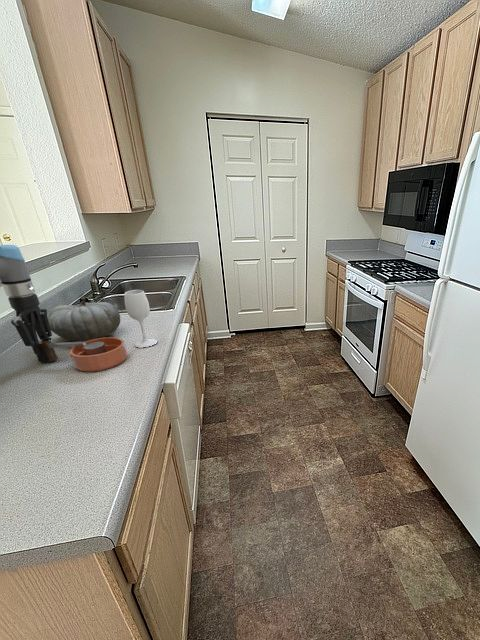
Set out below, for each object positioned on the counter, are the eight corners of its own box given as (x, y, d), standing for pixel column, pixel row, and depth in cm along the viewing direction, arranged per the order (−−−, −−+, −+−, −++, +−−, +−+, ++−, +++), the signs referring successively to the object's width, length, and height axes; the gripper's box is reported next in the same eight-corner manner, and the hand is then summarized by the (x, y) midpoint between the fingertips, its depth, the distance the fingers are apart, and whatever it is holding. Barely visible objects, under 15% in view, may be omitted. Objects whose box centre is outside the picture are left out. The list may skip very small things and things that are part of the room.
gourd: (93, 346, 124) (76, 300, 119) (40, 351, 130) (22, 308, 124) (136, 329, 147) (123, 290, 142) (90, 334, 153) (76, 297, 147)
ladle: (111, 353, 121) (105, 336, 118) (102, 361, 115) (95, 343, 112) (48, 356, 121) (40, 339, 118) (35, 364, 116) (27, 346, 113)
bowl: (64, 372, 111) (58, 356, 108) (92, 352, 126) (87, 337, 123) (113, 372, 111) (108, 356, 108) (135, 351, 126) (132, 337, 123)
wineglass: (134, 349, 127) (120, 296, 118) (134, 341, 134) (121, 290, 125) (158, 345, 130) (147, 293, 121) (157, 338, 138) (146, 288, 128)
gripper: (14, 301, 101) (41, 369, 111) (49, 289, 115) (70, 350, 125) (-10, 301, 101) (19, 369, 111) (28, 289, 115) (51, 350, 125)
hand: (46, 359), depth 118 cm, fingers closed on ladle, 2 cm apart
